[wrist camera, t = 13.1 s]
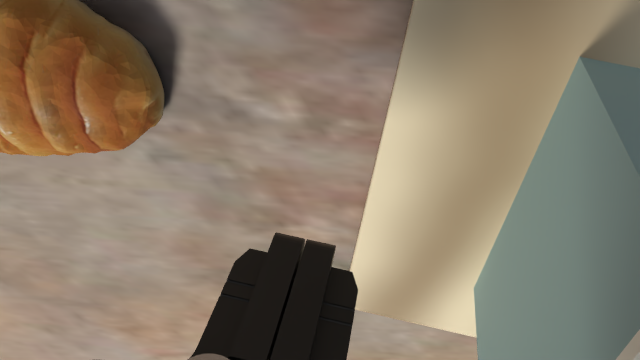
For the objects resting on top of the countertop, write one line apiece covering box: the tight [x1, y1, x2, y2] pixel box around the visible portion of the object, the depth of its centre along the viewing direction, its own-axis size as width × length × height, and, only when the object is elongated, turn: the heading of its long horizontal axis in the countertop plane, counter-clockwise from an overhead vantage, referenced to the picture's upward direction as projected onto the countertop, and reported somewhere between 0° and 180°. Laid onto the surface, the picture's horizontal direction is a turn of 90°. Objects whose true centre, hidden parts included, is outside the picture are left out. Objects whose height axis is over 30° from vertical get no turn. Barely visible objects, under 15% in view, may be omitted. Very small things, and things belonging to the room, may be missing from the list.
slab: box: [474, 57, 640, 360], centre depth 13 cm, size 3×9×8 cm, turn 172°
